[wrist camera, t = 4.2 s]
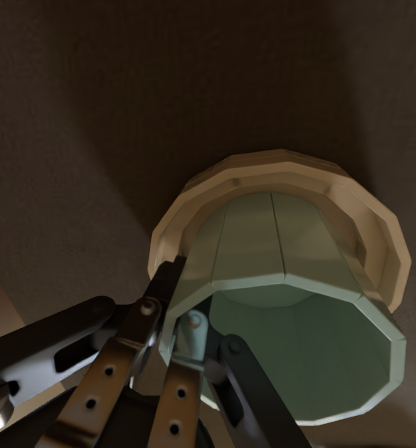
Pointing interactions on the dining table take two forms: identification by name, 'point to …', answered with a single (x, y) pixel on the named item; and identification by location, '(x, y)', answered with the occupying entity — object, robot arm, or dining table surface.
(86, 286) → the dining table surface
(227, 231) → the top bowl
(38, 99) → the dining table surface
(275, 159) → the bottom bowl
